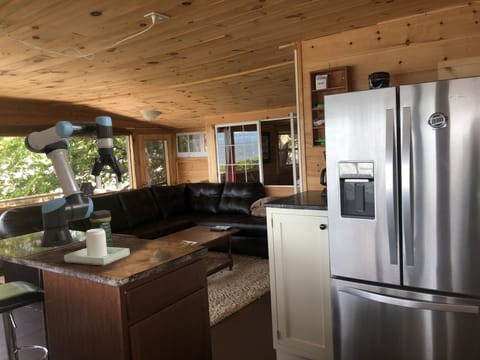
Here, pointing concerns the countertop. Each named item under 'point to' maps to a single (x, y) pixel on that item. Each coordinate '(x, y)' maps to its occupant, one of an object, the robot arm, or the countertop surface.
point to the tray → (111, 256)
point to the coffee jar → (102, 224)
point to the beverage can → (96, 243)
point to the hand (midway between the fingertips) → (108, 188)
